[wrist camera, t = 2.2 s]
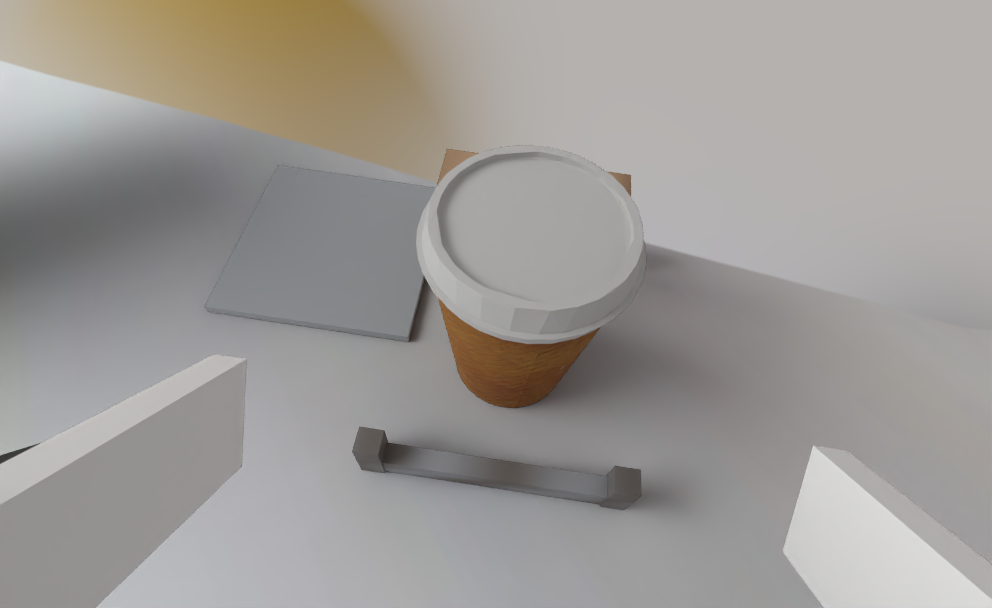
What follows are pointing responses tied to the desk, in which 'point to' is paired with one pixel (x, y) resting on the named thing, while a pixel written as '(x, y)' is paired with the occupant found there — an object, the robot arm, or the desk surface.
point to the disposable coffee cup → (528, 265)
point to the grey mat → (328, 255)
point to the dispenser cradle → (578, 486)
